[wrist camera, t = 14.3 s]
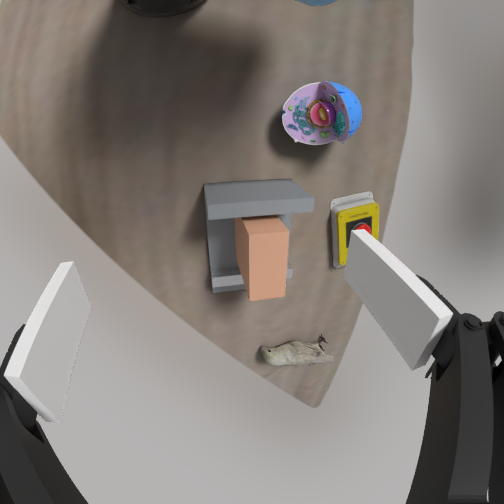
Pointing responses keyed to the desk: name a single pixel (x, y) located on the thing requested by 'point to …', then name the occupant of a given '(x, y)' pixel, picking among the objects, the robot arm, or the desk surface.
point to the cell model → (322, 113)
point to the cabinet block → (262, 255)
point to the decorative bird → (296, 354)
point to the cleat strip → (234, 276)
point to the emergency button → (351, 222)
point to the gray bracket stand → (247, 214)
